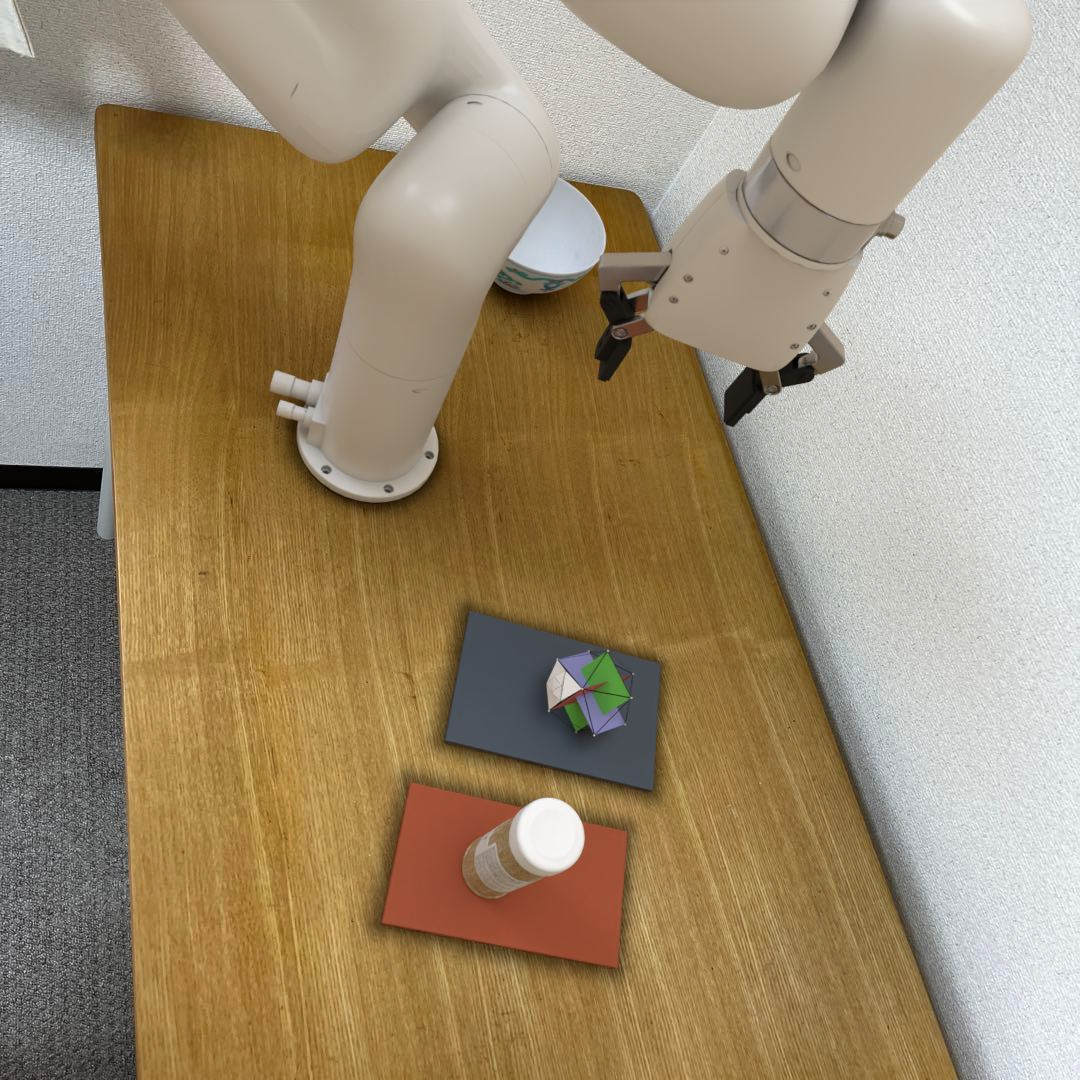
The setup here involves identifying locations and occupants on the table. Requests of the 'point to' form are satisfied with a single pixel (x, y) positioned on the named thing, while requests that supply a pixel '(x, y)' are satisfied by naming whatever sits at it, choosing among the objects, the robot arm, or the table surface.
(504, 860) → the sprinkles bottle
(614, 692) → the geometric puzzle
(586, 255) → the chinaware
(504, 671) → the back mat
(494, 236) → the robot arm
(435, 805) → the front mat
